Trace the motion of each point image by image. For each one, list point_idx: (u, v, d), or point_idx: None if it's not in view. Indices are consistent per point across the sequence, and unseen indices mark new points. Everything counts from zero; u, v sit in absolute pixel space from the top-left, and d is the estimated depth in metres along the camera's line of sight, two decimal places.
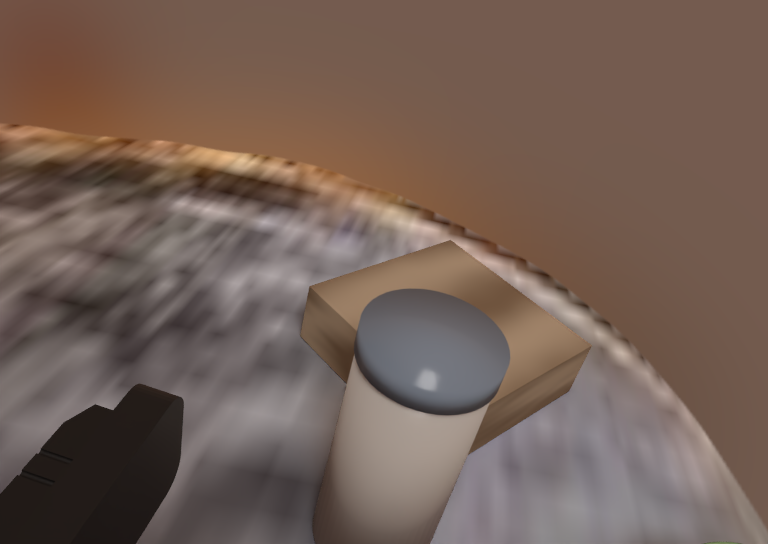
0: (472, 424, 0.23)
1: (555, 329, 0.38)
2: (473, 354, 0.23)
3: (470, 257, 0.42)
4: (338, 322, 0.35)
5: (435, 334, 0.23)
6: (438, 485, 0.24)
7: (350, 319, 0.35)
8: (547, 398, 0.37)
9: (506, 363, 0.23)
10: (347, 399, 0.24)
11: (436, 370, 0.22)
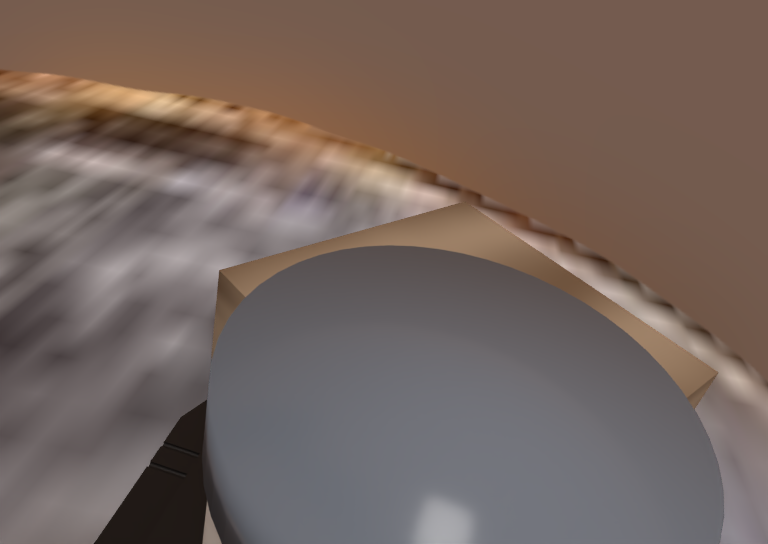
0: None
1: (652, 345, 0.22)
2: (601, 454, 0.07)
3: (498, 227, 0.26)
4: None
5: (469, 383, 0.07)
6: None
7: None
8: None
9: (713, 485, 0.07)
10: None
11: (483, 530, 0.06)
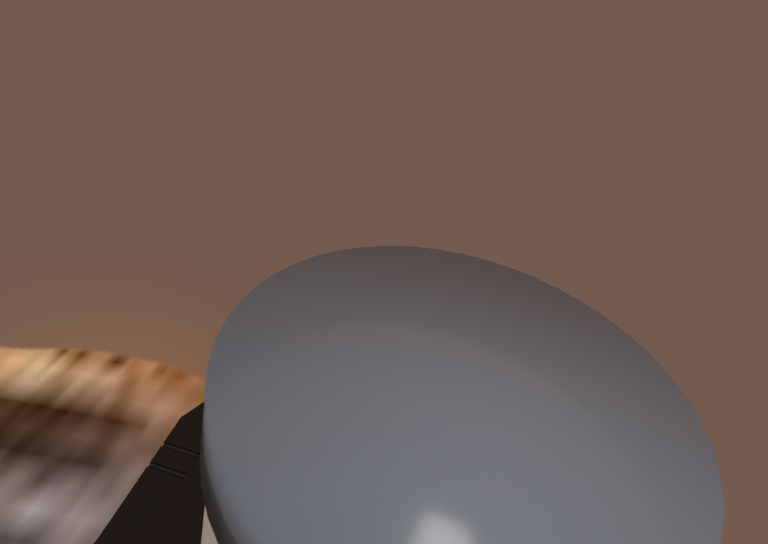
0: None
1: None
2: (600, 456, 0.07)
3: None
4: None
5: (468, 384, 0.07)
6: None
7: None
8: None
9: (713, 487, 0.07)
10: None
11: (480, 533, 0.06)
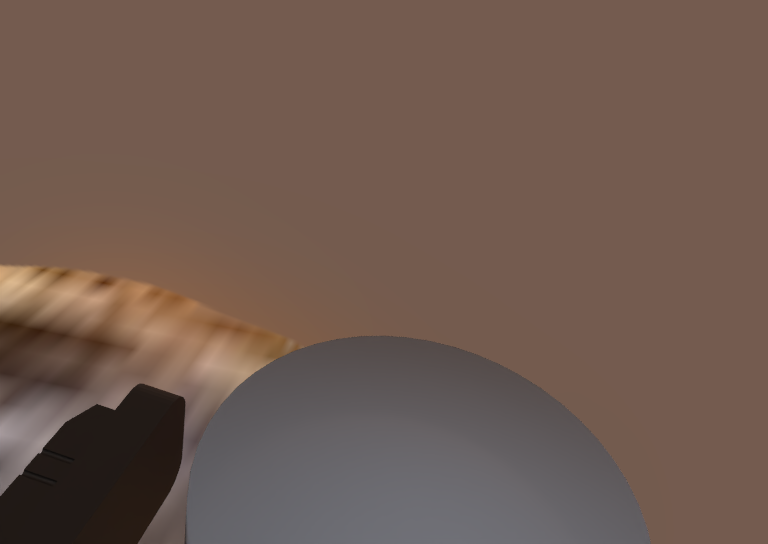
0: None
1: None
2: None
3: None
4: None
5: (427, 482, 0.08)
6: None
7: None
8: None
9: None
10: None
11: None
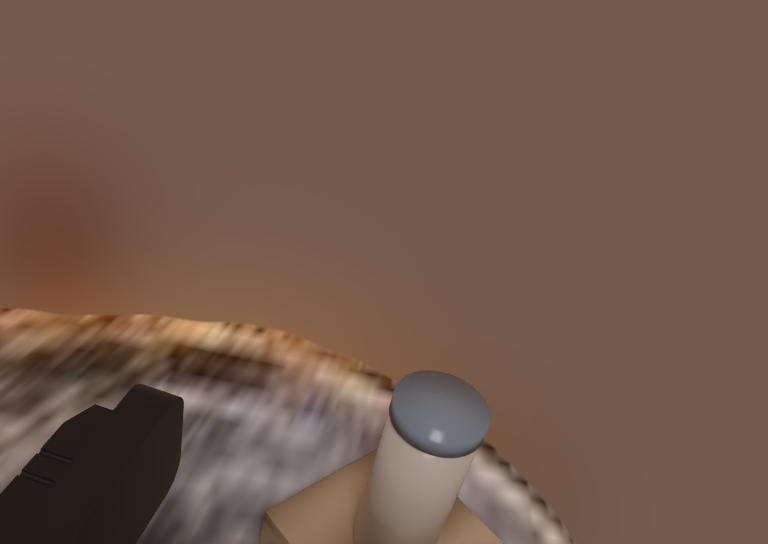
0: (467, 463, 0.35)
1: (485, 540, 0.43)
2: (467, 417, 0.35)
3: None
4: None
5: (442, 404, 0.36)
6: (444, 503, 0.37)
7: None
8: None
9: (488, 423, 0.35)
10: (384, 446, 0.36)
11: (444, 429, 0.34)
